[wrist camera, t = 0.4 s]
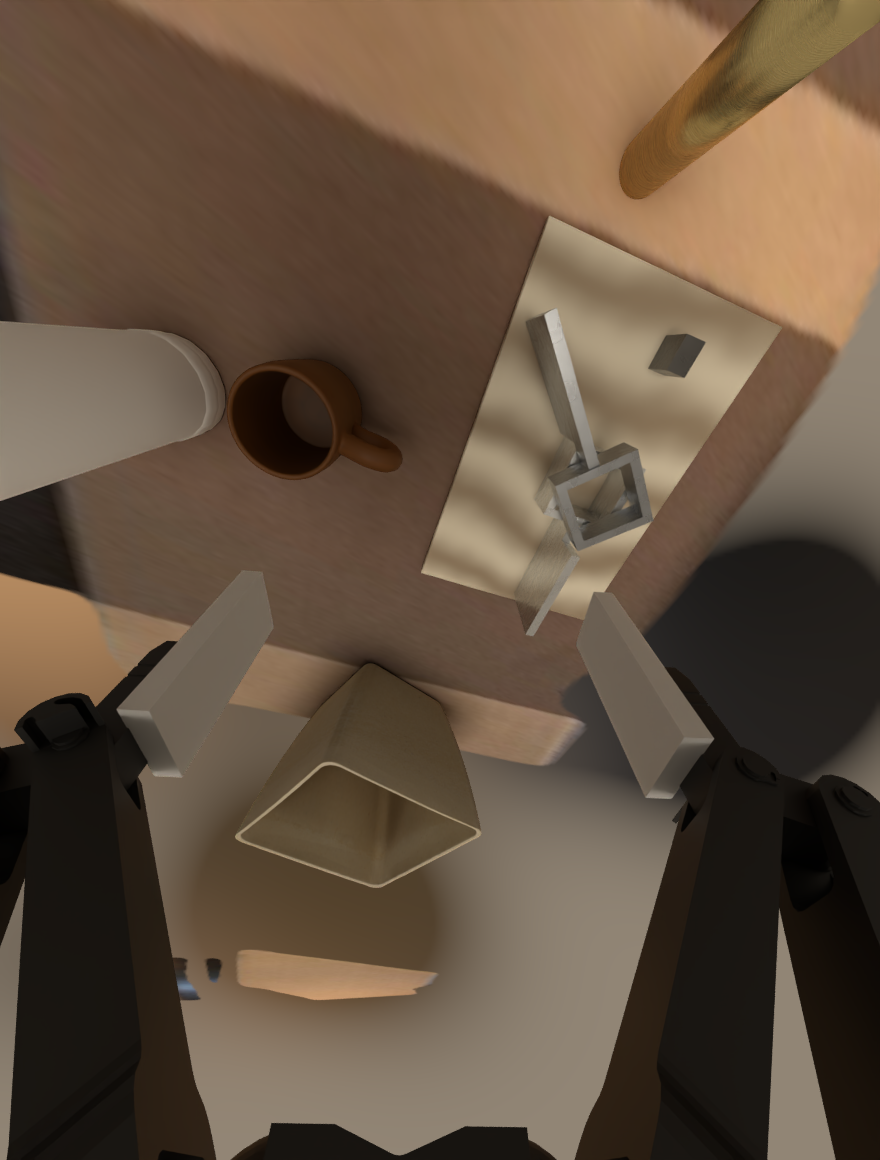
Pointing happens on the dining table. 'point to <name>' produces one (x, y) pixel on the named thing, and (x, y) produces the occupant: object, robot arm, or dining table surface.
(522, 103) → the dining table surface
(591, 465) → the square frame with bar
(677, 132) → the pin
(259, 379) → the mug
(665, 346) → the hinge base
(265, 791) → the flower pot
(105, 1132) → the robot arm
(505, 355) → the board
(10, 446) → the bottle
